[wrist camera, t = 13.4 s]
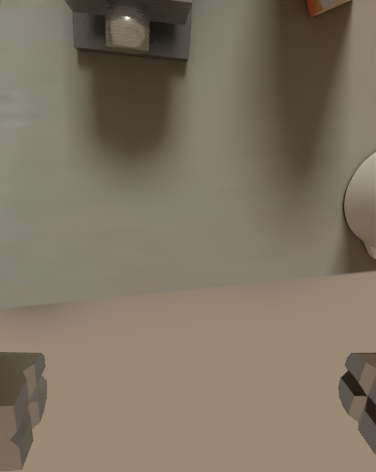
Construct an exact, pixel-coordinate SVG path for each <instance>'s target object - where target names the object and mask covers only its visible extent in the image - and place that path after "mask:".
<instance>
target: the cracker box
mask: <svg viewBox="0 0 376 472" xmlns="http://www.w3.org/2000/svg"><path fill="white" fill-rule="evenodd" d="M349 1H351V0H306V2H307V6H308V12H309V15H310V17H313V16H316V15H318V14H321V13H323V12H325V11H328V10H330V9H332V8H335V7H337V6H339V5H342V4H344V3H346V2H349Z"/></svg>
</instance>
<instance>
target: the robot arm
mask: <svg viewBox="0 0 376 472" xmlns="http://www.w3.org/2000/svg"><path fill="white" fill-rule="evenodd" d="M344 210H345V217H346V220H347V223H348V225H349V227H350V229H351V230H352V231H353V233H354V234H355V235H356V236H357V237H359V238H360V239H361V240H362V241H363V242H364V244H365V247H366V249H367V252H368V254H369V255H370V256H371V257H372V258H374V259H376V152H375V153H374V154H372V155H371V156H370V157H369V158H367V159H366V160H365V161H364V162H363V163H362V164H361V166H360V167H359V168H358V169H357V171H356V172H355V174H354V175H353V177H352V179H351V181H350V183H349V186H348V188H347V192H346V196H345V203H344ZM345 365H346V368H347V370H348V371H347V372H346V373H345V374H344V375H343V376H342V377H341V379H340V383H339V387H338V388H339V397H340V400H341V402H342V405H343V407H344V409H345V410H346V412H347V413H348V415H350V416H351V417H353V418H354V419H355V420H357V421H358V422H359V425H358V426H359V427H358V430H359V431H360V433H361V434H362V436H363V437H364V439H365V440H366V442H367V443H368V445H369V446H370V448H371V449H372V451H373V452H374V454H376V353H351V354H350V355H349V356H348V357H347V360H346V363H345ZM44 368H45V358H44V355H43V354H42V353H16V352H0V471H12V470H22V468H23V465H24V463H25V460H26V458H27V455H28V453H29V450H30V447H31V445H32V442H33V434H32V429H33V428H34V427H35V426H36V425H37V424H39V423H40V421H41V418H42V415H43V412H44V408H45V403H46V399H47V381H46V380H45V379H44V377H43V376H42V373H43V371H44Z"/></svg>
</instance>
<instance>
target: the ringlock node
mask: <svg viewBox="0 0 376 472" xmlns="http://www.w3.org/2000/svg"><path fill="white" fill-rule="evenodd" d="M65 1H66V3H67V4H68V5H69V7H70V8H71V9H72V11H73V31H74V47H75V48H76V49H77V50H81V51H91V52H101V53H110V54H120V55H130V56H140V57H149V58H159V59H169V60H178V61H188V58H189V43H190V28H191V13H192V3H193V0H65Z"/></svg>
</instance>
